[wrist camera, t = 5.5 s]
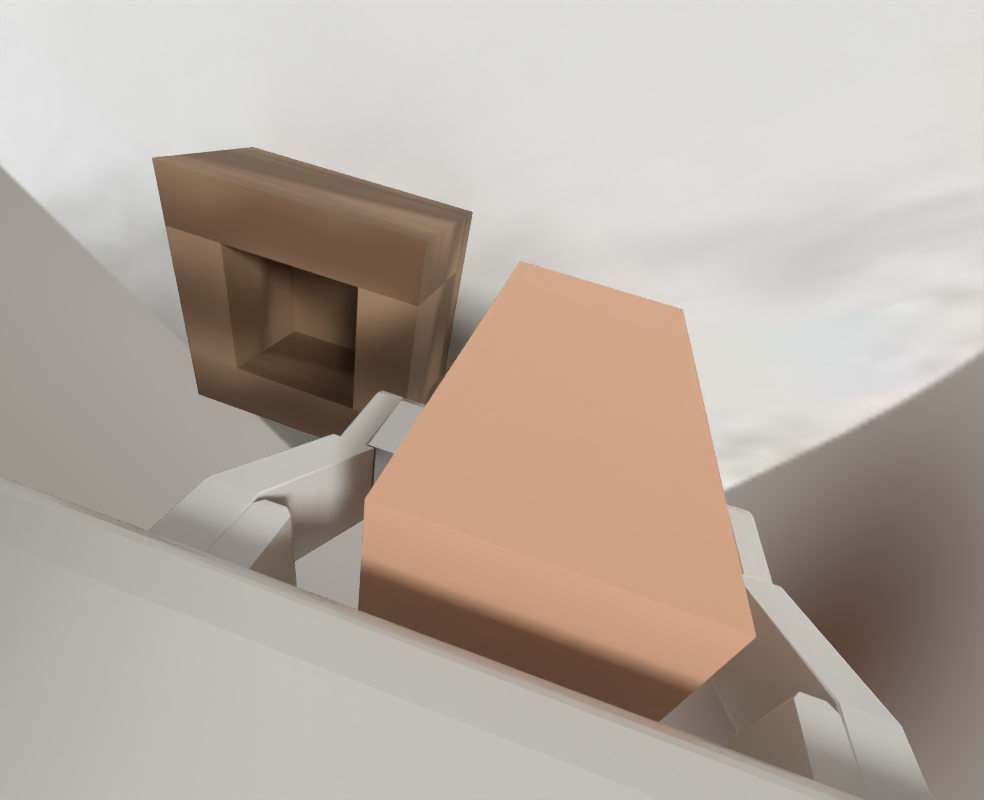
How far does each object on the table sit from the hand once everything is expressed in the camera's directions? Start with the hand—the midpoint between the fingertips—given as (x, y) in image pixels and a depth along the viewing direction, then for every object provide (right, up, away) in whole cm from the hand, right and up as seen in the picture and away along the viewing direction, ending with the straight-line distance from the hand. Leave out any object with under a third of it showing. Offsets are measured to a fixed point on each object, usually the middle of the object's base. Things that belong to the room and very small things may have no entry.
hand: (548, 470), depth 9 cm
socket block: (-8, +7, +15) cm, 18 cm away
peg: (+1, +3, +4) cm, 5 cm away
